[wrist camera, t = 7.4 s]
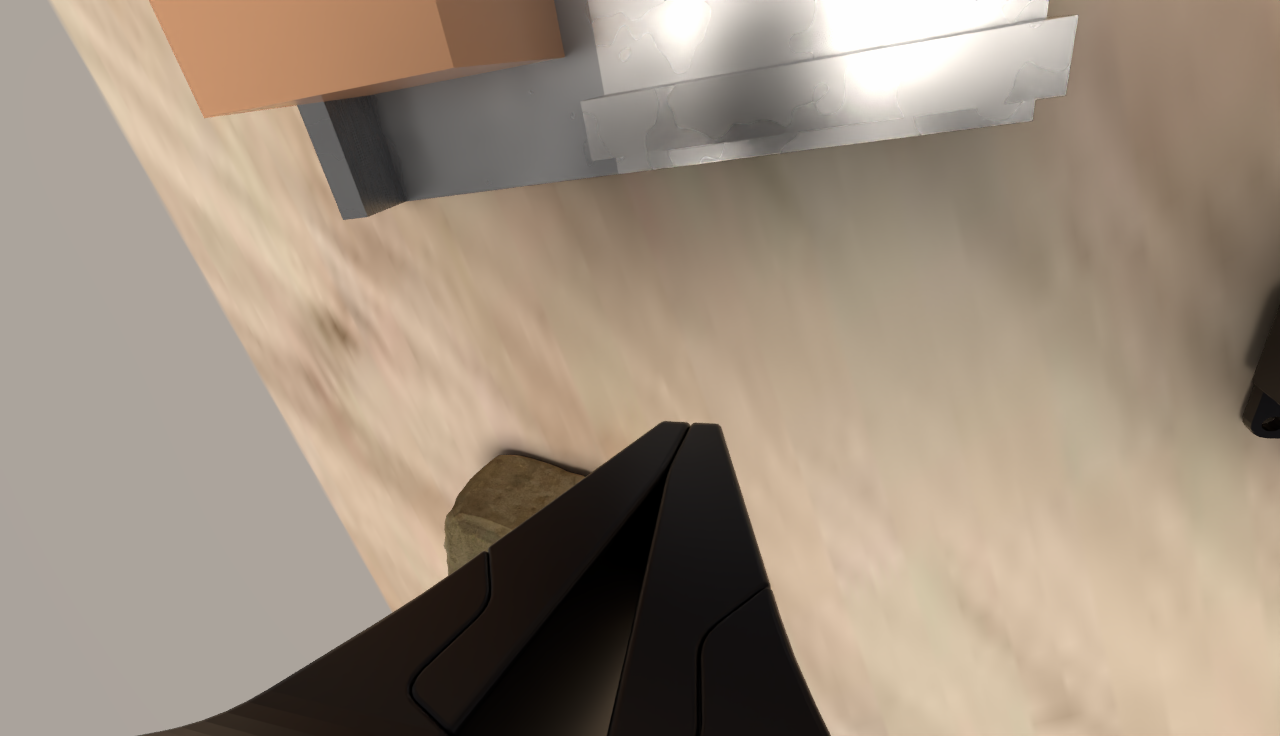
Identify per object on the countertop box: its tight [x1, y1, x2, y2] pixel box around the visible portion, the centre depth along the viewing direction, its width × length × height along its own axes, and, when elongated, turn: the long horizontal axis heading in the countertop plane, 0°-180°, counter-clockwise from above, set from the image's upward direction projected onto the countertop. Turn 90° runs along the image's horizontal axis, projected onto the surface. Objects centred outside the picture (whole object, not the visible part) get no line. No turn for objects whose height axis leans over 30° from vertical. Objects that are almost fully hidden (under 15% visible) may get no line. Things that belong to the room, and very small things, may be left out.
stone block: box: [444, 455, 585, 576], centre depth 25 cm, size 6×12×5 cm, turn 80°
